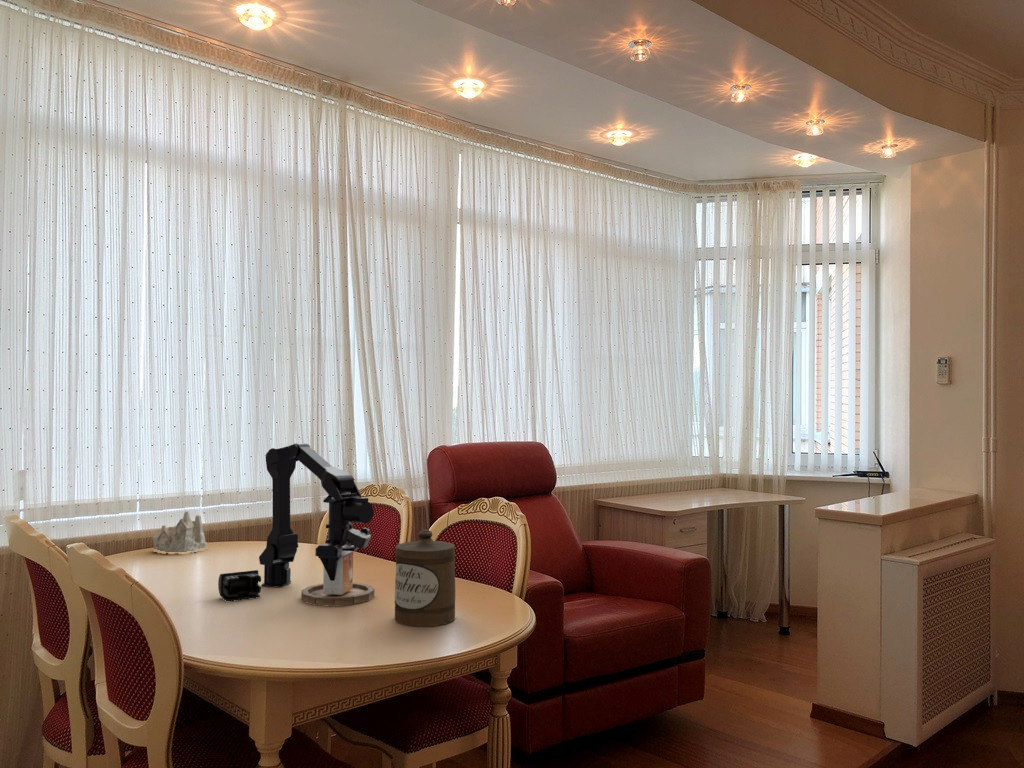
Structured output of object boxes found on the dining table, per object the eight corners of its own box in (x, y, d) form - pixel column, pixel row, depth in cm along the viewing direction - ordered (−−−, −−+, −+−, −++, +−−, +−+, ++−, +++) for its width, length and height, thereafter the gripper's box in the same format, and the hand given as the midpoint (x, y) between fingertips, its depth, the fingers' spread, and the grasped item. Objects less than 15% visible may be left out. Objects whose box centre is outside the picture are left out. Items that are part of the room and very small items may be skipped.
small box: (342, 595, 218) (343, 556, 218) (322, 594, 219) (323, 555, 219) (353, 588, 226) (353, 550, 226) (334, 587, 227) (334, 549, 227)
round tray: (290, 603, 214) (290, 596, 214) (318, 587, 233) (318, 580, 233) (359, 607, 211) (359, 599, 211) (382, 590, 230) (382, 583, 230)
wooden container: (382, 621, 198) (383, 530, 199) (419, 608, 211) (420, 523, 212) (430, 630, 191) (431, 536, 191) (466, 617, 203) (467, 528, 204)
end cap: (254, 592, 227) (255, 568, 227) (262, 597, 221) (262, 572, 221) (217, 597, 221) (218, 572, 222) (224, 602, 215) (225, 576, 216)
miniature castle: (215, 548, 293) (212, 506, 293) (180, 557, 278) (178, 513, 278) (182, 547, 299) (179, 506, 299) (146, 557, 284) (144, 514, 284)
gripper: (355, 526, 212) (354, 586, 212) (378, 516, 231) (377, 571, 230) (315, 524, 214) (313, 584, 214) (340, 514, 232) (339, 569, 232)
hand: (338, 577), depth 222 cm, fingers closed on small box, 8 cm apart
